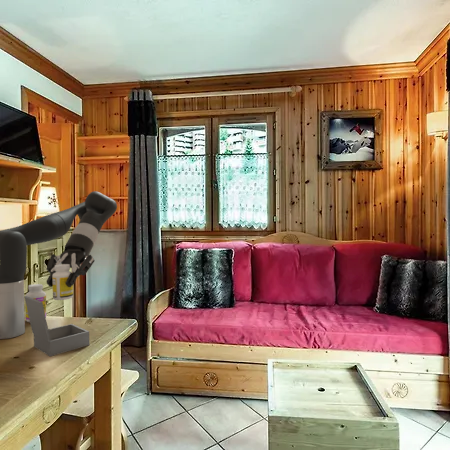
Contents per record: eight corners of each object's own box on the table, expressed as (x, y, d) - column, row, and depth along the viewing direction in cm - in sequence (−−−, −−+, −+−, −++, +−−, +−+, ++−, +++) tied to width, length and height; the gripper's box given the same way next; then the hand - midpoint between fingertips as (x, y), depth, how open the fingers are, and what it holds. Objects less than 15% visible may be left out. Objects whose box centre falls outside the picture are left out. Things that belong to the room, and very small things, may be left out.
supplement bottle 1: (35, 323, 124) (34, 287, 124) (21, 322, 126) (20, 286, 126) (50, 318, 130) (49, 284, 130) (36, 316, 132) (36, 283, 132)
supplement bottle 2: (76, 296, 105) (75, 263, 105) (67, 300, 100) (66, 266, 99) (59, 295, 106) (58, 263, 105) (48, 300, 100) (48, 266, 100)
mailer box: (25, 348, 100) (24, 296, 100) (72, 336, 110) (71, 288, 110) (41, 359, 93) (39, 302, 92) (89, 344, 103) (88, 293, 103)
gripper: (107, 248, 113) (86, 293, 102) (67, 247, 116) (43, 291, 105) (97, 232, 108) (74, 278, 97) (56, 232, 111) (29, 277, 99)
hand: (58, 285), depth 101 cm, fingers closed on supplement bottle 2, 5 cm apart
